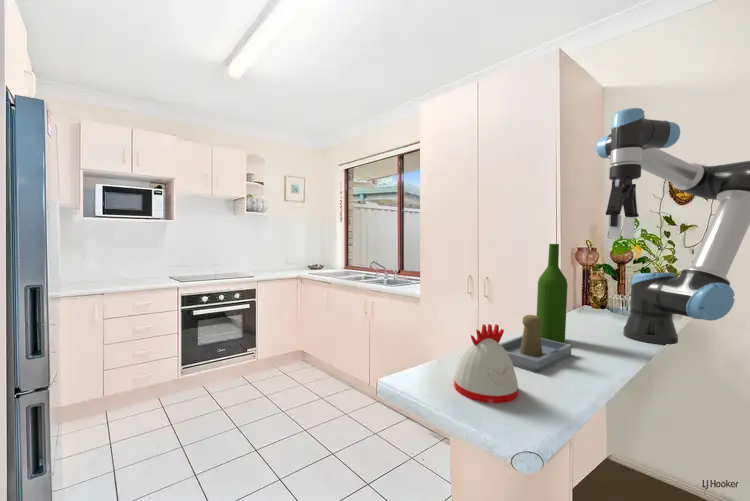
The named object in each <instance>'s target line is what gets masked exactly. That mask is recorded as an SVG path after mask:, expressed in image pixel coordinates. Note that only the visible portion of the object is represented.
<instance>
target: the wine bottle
mask: <svg viewBox="0 0 750 501" xmlns="http://www.w3.org/2000/svg"><path fill="white" fill-rule="evenodd" d="M548 245H549V246H548V258H547V259H548V260H547V261H548V262H547V267H546V268H545V269H544V271H543V272H542V274H541V275H540V276H539V277H538V281H537V295H536V296H537V298H536V300H537V301H536V316H539V317H540V318H541V319H542V326H541V327H540V336H541V338H544V339H548V340H552V341H557V342H561V343H565V341H566V328H567V327H566V325H567V307H568V306H567V305H568V304H567V302H568V300H567V299H568V281H567V280H568V279H567V278H566V277H565V275H564V273H563V272H562V271H561V269H560V266H559V263H560V260H559V259H560V258H559V257H560V244H559V243H549V244H548Z"/></svg>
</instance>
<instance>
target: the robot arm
mask: <svg viewBox="0 0 750 501" xmlns="http://www.w3.org/2000/svg"><path fill="white" fill-rule="evenodd" d="M645 117H646V115H645V111H644V110H643V108H641V107H640V108H639V107H631V108H630V107H629V108H625V109H622V110H619V111H617V112H615V113H614V114H613V116H612V121H611V128H610V130H611V133H610V134H607V135H605V136H602V137H601V138H600V139H598V141H597V142H596V148H595V149H596V150H595V151H596V153H597V155H598V156H599V157H600V158H601V159H609V160H610V162H609V163H610V168H609V175H608V176H609V177H608V178H609V179H610V181H611V189H610V193H609V198H608V203H607V208H606V211H605V216H608V236H607V239H608V240H609V239H610V240H611V239H613V240H614V239H615V240H616V239H617V240H618V239H621V234H622V240H624V239H625V240H627V239H628V240H629V239H630V240H634V239H635V226H636V218H638V217H639V213H638V206H637V203H638V202H637V194H636V193H637V192H636V191H637V190H636V187H637V185H636V183H633V180H638V179H640V178H641V177H642V170H643V171H645V172H647V173H649V174H651V175H654V176H656V177H659V178H660V179H663V180H665V181H667V182H669V183H671V184H672V185H673V187H674V188H675V189H677V190H679V191H681V192H684V193H686V194H690V195H692V196H695V197H697V198H698V197H699V198H702V199H706V200H707V199H708V200H713V201H714V200H717V201H718V202H719V203H718V204H719V205H718V206H717V208H716V211H715V213H714V215H713V217H712V219H711V222H710V224H709V226H708V228H707V231H706V232H705V234H704V237H703V239H702V241H701V243H700V245H699V247H698V249H697V252H696V254H695V256H694V259H693V260H692V263H691V265H690V267H687V268H686V267H685V268H684V269H682V270H681V271H680V274H679V276H678V277H676V274H675V273H674V272H643V273H642V272H639V273H635V274H634V275H633V276H632V280H631V291H630V312H629V316H628V318H627V320H626V323H625V326H624V327H623V335H624V337H626V338H629V339H632V340H636V341H639V342H645V343H651V344H657V345H675V344H678V342H679V335H678V334H677V331H676V330H677V329H676V326H675V323H674V320H673V316H674V315H673V314H675V315H680V316H684V317H689V318H692V319H694V320H704V321H711V322H712V321H717V320H720V319H722V318H724V317H725V316H727V315H728V314H729V313H730V312H731V309H732V308H733V306H734V303H735V298H734V297H735V291H734V290H733V288H732V287H731V286H730V285H731V282H730V280H729V279H728V278H727V275H728V273H729V271H730V269H731V266H732V264H733V262H734V260H735V257H736V256H737V254H738V251H739V248H740V247H741V245H742V243H743V240H744V238H745V236H746V233H747V232H748V230H749V227H750V160H744V161H739V162H731V163H726V164H720V165H702V164H700V163H695V162H692V163H689V162H688V161H684V160H683V159H681V158H679V157H677V156H674V155H672V154H670V153H668V152H666V151H664V150H662V149H667V148H670V147H672V146H674V145H675V144H676V143H677V142H678V140H679V138H680V136H681V128H680V125H679V124H678V123H676V122H675V121H674V122H672V121H669V120H659V119H658V120H657V119H649V118H645ZM622 210H623V212H624V217H623V223H622V215H621V212H622ZM622 224H623V227H622ZM621 229H622V230H623V231H622V230H621ZM621 231H622V232H621Z"/></svg>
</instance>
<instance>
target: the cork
mask: <svg viewBox="0 0 750 501" xmlns="http://www.w3.org/2000/svg"><path fill="white" fill-rule="evenodd" d="M522 325H523V326H524V327H523V333H522V335H523V337H522V342H521V348H520V353H522V354H524V355H527V356H533V357H538V356H542V346H541V336H540V327H541V326H542V319H541V318H540V317H539V316H537V315H534V314H527V315H524V316H523V317H522Z"/></svg>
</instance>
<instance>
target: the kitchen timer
mask: <svg viewBox="0 0 750 501" xmlns="http://www.w3.org/2000/svg"><path fill="white" fill-rule="evenodd" d="M499 326H500V325H499V324H495V325H494V327H493V326H492V324H490V323H488V325H486V324H482V327H481V331H480V329H477V328H476V330H475V331H476V336H477V338H475V336H474V335H472V334H470V338H471V343H470V344H468V346H466V348H465V349H464V351H463V352H462V353H461V356H460V358H459V360H458V363H457V365H456V368H455V373H454V377H453V378H454V379H453V387H454V389H455V391H456V392H457V393H458V394H460V395H461V396H463V397H464V398H468V399H470V400H473V401H476V402H481V403H485V404H505V403H509V402H513V401H514V400H516V399H517V397H518V396H519V394H518V393H519V384H518V380H517V375H516V371H515V366H513V364H512V361H511V359H510V357H509V355H508V353H507V352H506V350H505V349H504V348H503V347H502V346H501V345H500V342H501V339H502V338H503V335H504V331H505V329H503V328H501V329H500V330H499V328H500V327H499Z"/></svg>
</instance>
